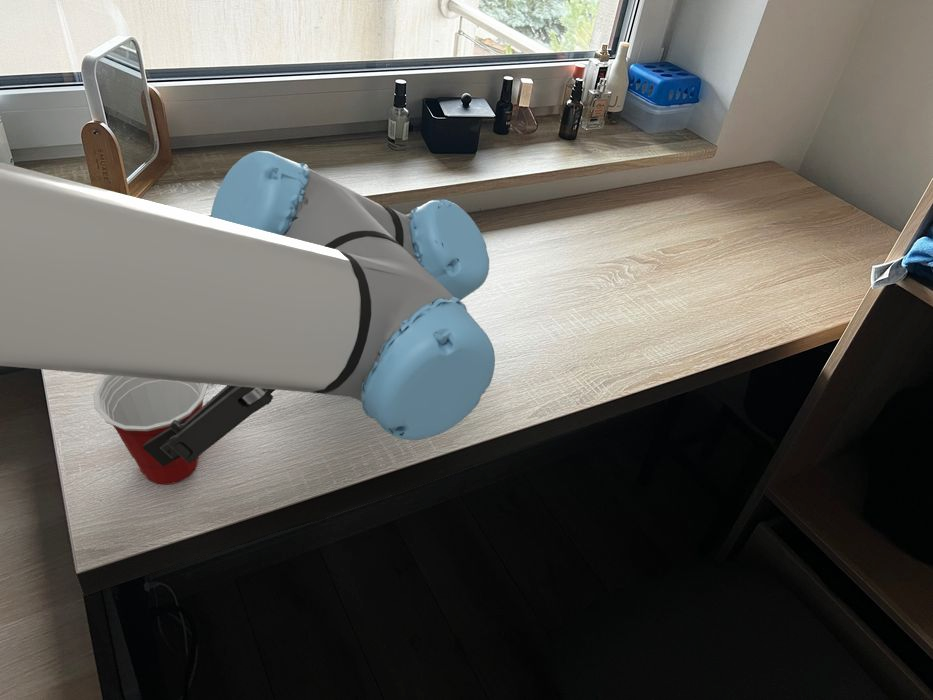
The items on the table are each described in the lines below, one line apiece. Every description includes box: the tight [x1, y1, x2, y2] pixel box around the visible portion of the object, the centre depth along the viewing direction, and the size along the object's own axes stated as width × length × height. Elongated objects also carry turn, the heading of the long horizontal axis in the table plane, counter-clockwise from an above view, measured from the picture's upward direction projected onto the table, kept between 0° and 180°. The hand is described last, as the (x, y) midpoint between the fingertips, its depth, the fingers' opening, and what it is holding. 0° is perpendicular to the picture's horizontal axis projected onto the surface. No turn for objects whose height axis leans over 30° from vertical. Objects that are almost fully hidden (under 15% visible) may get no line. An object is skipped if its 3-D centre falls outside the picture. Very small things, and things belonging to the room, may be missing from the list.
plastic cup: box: [92, 375, 209, 485], centre depth 76 cm, size 11×11×12 cm
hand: (195, 407), depth 73 cm, fingers open, 13 cm apart
